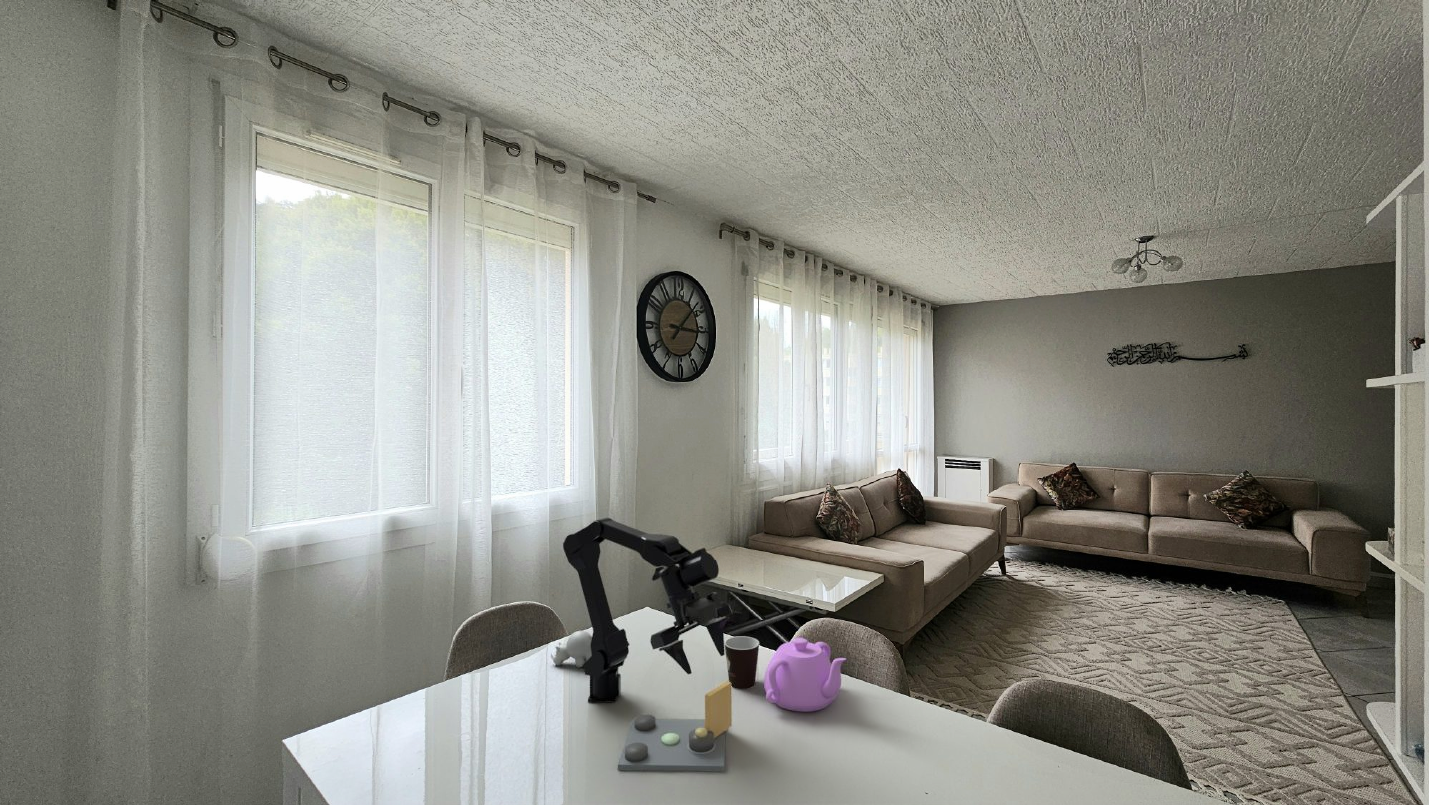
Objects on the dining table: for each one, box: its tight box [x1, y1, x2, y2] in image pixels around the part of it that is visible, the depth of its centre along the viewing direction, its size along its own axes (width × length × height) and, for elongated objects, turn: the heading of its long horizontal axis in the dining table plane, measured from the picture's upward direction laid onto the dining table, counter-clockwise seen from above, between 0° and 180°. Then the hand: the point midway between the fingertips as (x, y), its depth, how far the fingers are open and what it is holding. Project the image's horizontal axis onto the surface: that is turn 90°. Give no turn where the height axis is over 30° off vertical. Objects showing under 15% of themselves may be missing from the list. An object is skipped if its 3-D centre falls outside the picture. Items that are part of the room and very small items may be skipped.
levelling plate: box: [617, 713, 726, 772], centre depth 121 cm, size 20×17×2 cm
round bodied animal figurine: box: [550, 630, 592, 668], centre depth 161 cm, size 7×12×8 cm, turn 89°
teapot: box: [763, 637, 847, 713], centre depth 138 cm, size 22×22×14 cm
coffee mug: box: [724, 635, 760, 690], centre depth 150 cm, size 12×9×10 cm
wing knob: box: [689, 680, 733, 752], centre depth 122 cm, size 12×5×9 cm, turn 143°
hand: (706, 664), depth 127 cm, fingers open, 9 cm apart
